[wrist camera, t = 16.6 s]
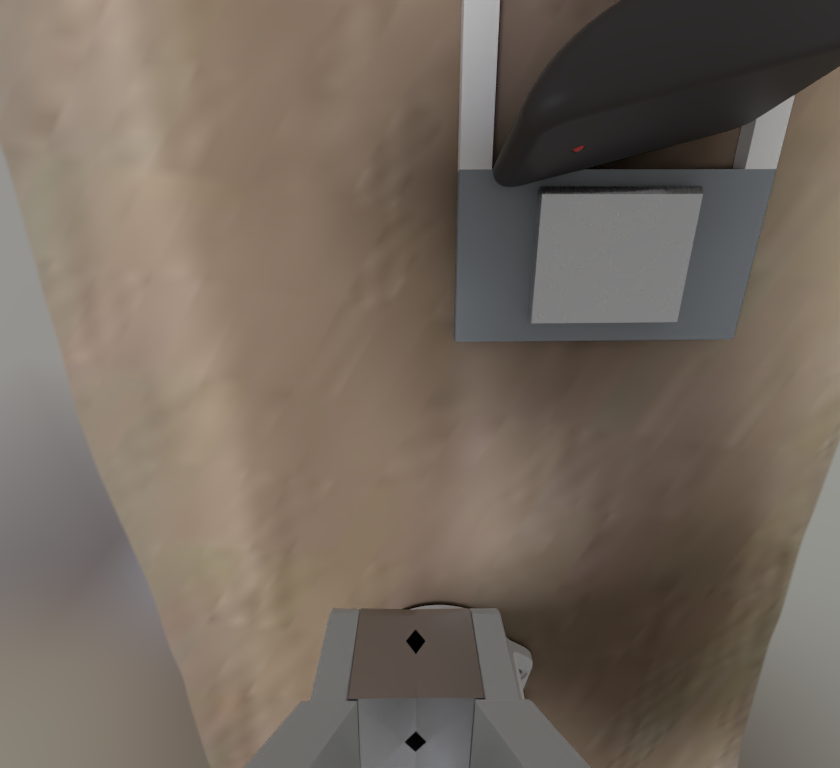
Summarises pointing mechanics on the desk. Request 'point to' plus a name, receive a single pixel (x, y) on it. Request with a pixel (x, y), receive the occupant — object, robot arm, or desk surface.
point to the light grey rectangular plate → (611, 253)
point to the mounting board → (516, 206)
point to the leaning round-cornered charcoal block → (666, 79)
